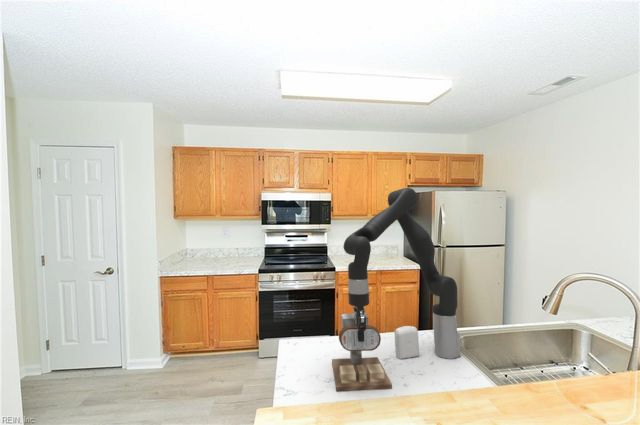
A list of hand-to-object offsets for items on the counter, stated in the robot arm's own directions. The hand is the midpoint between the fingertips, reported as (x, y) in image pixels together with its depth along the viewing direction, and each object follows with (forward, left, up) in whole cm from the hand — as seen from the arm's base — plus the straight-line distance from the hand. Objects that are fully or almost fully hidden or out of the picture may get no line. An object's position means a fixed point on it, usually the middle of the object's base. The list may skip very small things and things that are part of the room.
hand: (360, 339), depth 98 cm
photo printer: (-23, -18, -15) cm, 33 cm away
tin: (0, +1, -4) cm, 4 cm away
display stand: (0, -5, -15) cm, 16 cm away
